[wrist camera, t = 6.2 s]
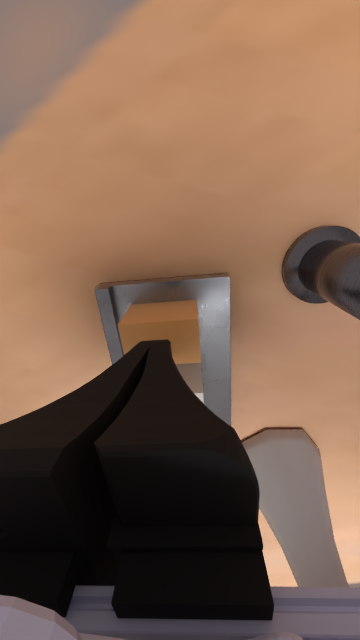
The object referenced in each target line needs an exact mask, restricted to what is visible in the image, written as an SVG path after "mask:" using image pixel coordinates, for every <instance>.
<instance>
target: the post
mask: <svg viewBox="0 0 360 640" xmlns="http://www.w3.org/2000/svg"><path fill="white" fill-rule="evenodd" d="M282 276H283V281H284V283H285V285H286V287H287V289H288V290H289V291H290V292H291V293H292V294H293V295H295V296H296V297H297V298H299V299H301V300H303V301H305V302H309V303H325V302H330V303H332V304H334V305H335V306H337V307H339V308H341V309H342V310H344V311H346V312H347V313H349V314H351V315H353V316H354V317H356V318H358V319H359V320H360V237H359V236H358V235H357V234H356V233H355V232H353V231H352V230H350V229H348V228H345V227H340V226H322V227H318V228H314V229H312V230H310V231H308V232H306V233H304V234H303V235H302V236H300V237H299V238H298V239H297V240H296V241H295V242H294V243H293V244H292V245H291V247H290V248H289V250H288V252H287V253H286V256H285V258H284V261H283V266H282Z"/></svg>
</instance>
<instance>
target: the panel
mask: <svg viewBox="0 0 360 640" xmlns="http://www.w3.org/2000/svg"><path fill="white" fill-rule="evenodd" d="M95 294H96V298H97V303H98V307H99V311H100V315H101V319H102V324H103V328H104V332H105V336H106V340H107V345H108V349H109V353H110V357H111V361H112V365H113V364H114V363H115V362H117V361H118V360H119V359H120V358H121V357H123V356H124V352H123V347H122V343H121V338H120V333H119V329H118V323H119V322H120V321H121V319H122V318H123V316H124V315H125V313H126V312H127V310H128V309H129V307H130V306H131V305H133V304H146V303H159V302H173V301H186V300H197V310H198V321H199V336H200V352H201V374H202V386H203V399H204V404H205V406H207V407H208V408H209V409H210V410H211V411H212V412H213V413H214V414H215V415H217V416H218V417H219V418H220V419H222V420H223V421H224V422H226V423H227V424H228V425H230V426H231V368H230V276H229V275H228V273H220V274H208V275H195V276H183V277H171V278H159V279H146V280H134V281H122V282H109V283H100V284H99V285H97V286H96V287H95ZM188 364H191V363H188Z"/></svg>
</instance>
